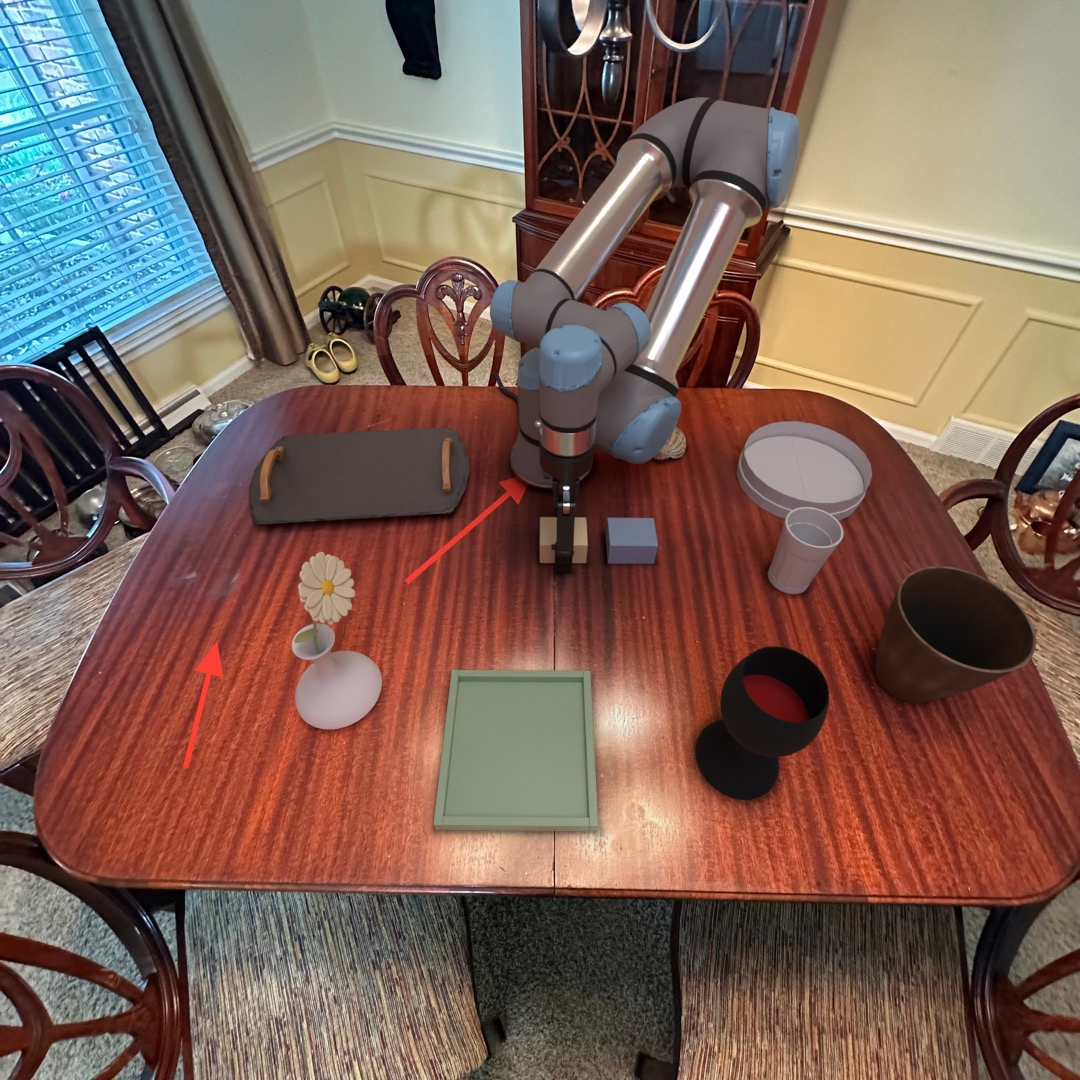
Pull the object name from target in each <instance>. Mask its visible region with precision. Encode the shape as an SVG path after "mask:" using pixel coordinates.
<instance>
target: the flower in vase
mask: <svg viewBox="0 0 1080 1080" xmlns="http://www.w3.org/2000/svg"><path fill="white" fill-rule="evenodd" d="M298 574H299V578H300V580H301V582H299V583H298V586H297V588H298V595H299V600H300V602H301V603H304V606H303V607H304V610H305V611H306V612H307V613H309V616H311V617H310V618H311V619H312V620H313V623H311V624H308V625H306V626H304V627H302V628H300V630H299V631H298V632H296V634H295V635H294V636H293V638H292V641H291V650H292V653H293V654H294V655H295V656H296V657H297V658H299V659H302V660H307V661H311V662H312V663H311V664H310V665H309V666H308V667H307V668H306V669H305V670H304V672H303V673H302V674H301V676H300V678H299V680H298V682H297V685H296V688H295V695H294V703H295V704H294V705H295V707H296V711H297V713H298V715H299V717H301V718H302V720H303V721H304V722H305V723H306V724H307V725H310V726H311V727H314V728H316V729H321V730H339V729H342V728H346V727H349V726H351V725H353V724H355V723H357V722H358V721H360V720H361V719H363V718H364V717H365V716H366V715H368V714H369V713H370V711H371V710H372V709H373V707H374V706H375V705H376V703H377V701H378V700H379V698H380V695H381V692H382V687H383V678H382V674H381V670H380V668H379V667H378V665H377V663H376V662H375V661H374V660H372V659H371V658H370V657H369V656H367V655H365V654H363V653H361V652H358V651H354V650H338V651H333V652H332V650H331V649H332V648H333V646H334V644H335V640H336V634H335V631H334V629H333V628H332V627H331V626H332V625H334V623H339V622H340V620H342V618H343V617H347V616H348V614H349V611H351V610H352V609H353V604H352V598H355V597H356V590H355V589H354V588H353V587H354V585H355V579H353V578H351V576H352V570H351V569H350V568H348V567H347V568H346V566H345V561H344V560H340V558H339V557H338V556H335V555H332V554H330V553H328V554H325V552H324V551H320V552H317V553H316V554H315V556H314V555H311V557H309V561H305V562H304V563H303V564H302V566H301V570H300V571H299V573H298ZM318 621H319V622H318ZM325 623H327V624H325Z"/></svg>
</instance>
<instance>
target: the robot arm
mask: <svg viewBox="0 0 1080 1080" xmlns="http://www.w3.org/2000/svg"><path fill="white" fill-rule="evenodd" d="M801 129H802V128H801V122H800V120H799V118H798V117H797V115H795V114H793V113H792V112H786V111H783V110H778V109H776V108H775V107H772V106H771V107H770V108H765V107H759V106H754V105H750V104H749V105H747V104H743V103H737V102H731V101H725V100H718V99H714V98H711V97H704V96H703V97H692V98H691V97H690V98H687V99H684V100H681V101H678V102H676V103H673V104H671V105H669V106H666V108H664V109H662V110H660V111H659V112H657V113H656V114H654V115H652V117H650V118H649V119H647V120H646V121H645V122H643V123H642V124H641V125H640V126H639V127H637V128H636V130H634V132H633V133H632V134H630V136H629V137H628V138H627V139H626V141H625V142H624V143H623V145H622V146H621V147H620V149H619V151H618V152H617V156H616V164H615V166H614V167H613V169H612V170H611V172H609V174H608V175H607V177H606V178H605V179H604V180H603V182H602V183H601V184H600V185H599V187H598V188H597V189H596V191H595V192H594V193H593V194H592V196H591V197H590V198H589V200H588V201H587V202H586V203H585V205H584V206H583V207H582V209H581V210H580V211H579V212H578V214H577V215H576V216H575V218H574V219H573V220H572V222H571V223H570V225H569V226H568V227H567V228H566V229H565V230H564V232H563V233H562V234H561V235H560V237H559V238H558V239H557V241H556V242H555V244H553V246H552V247H551V249H549V251H548V253H547V254H546V255H545V256H544V258H543V259H542V260H541V262H540V263H539V264H538V266H536V268H535V269H534V270H533V271H532V272H531V274H530V275H529V276H528V277H527V279H526V280H525V281H524V282H522V280H514V279H508V280H506V281H504V282H501V283H500V284H499V285H498V286H497V288H496V289H495V290H494V293H493V295H492V298H491V301H490V306H489V319H490V321H491V324H492V326H493V328H494V330H496V331H497V333H499V334H501V335H504V336H506V337H508V338H510V339H512V340H514V341H516V342H517V343H523V344H526V345H529V346H531V347H534V348H532V349H529V351H527V352H526V353H525V354H524V355H522V357H521V358H520V360H519V362H518V366H517V379H516V386H517V394H516V393H514V392H512V391H510V390H509V389H507V388H506V387H505V386H504V384H503V382H502V379H501V377H500V374H499V373H498V372H496V371H494V372H493V373H492V374H491V376H492V377H493V378H495V382H496V384H497V386H498V387H499V389H500V390H501V391H502V392H503V393H504V394H505V395H506V396H509V397H510V398H512V399H514V401H516V403H517V414H518V426H519V427H518V428H519V430H518V433H517V436H516V439H515V443H514V445H512V449H511V452H510V469H511V471H512V474H513V475H514V477H515V479H517V481H519V482H520V483H521V484H523V486H526V487H528V488H530V489H533V490H536V491H539V492H540V491H541V492H547V493H553V507H554V517H557V536H556V542H555V544H551V550H555V563H554V573H556V574H557V573H561V574H562V573H563V574H564V573H565V574H567V573H568V574H571V573H572V572H573V563H572V558H573V556H574V550H573V548H574V524H575V517H576V509H577V507H578V492H579V490H580V485H581V484H583V483H584V482H585V481H586V480H587V479H588V478H589V476H590V474H591V473H592V470H593V462H594V451H595V449H596V450H599V451H601V452H604V453H606V454H608V455H610V456H611V457H613V458H615V459H617V460H623V461H625V462H628V463H631V464H634V465H643V464H645V463H648V462H649V461H650V460H652V459H653V457H654V456H655V455H656V454H657V453H658V452H659V451H660V450H661V449H662V447H663V446H664V445H665V444H666V442H667V441H668V439H669V438H670V436H671V434H672V433H673V431H674V429H675V427H677V425H678V421H679V419H680V417H681V414H682V409H683V406H682V402H681V400H679V398H678V397H677V396H678V393H679V391H680V386H679V383H678V380H677V378H676V376H677V373H678V371H679V369H680V367H681V365H682V363H683V360H684V359H685V356H686V354H687V352H688V350H689V348H690V345H691V343H692V341H693V339H694V337H695V335H696V333H697V331H698V329H699V326H700V324H701V322H702V321H703V318H704V315H705V313H706V311H707V309H708V308H709V305H710V303H711V302H712V299H713V296H714V294H715V292H716V291H717V288H718V286H719V284H720V282H721V280H722V278H723V276H724V273H725V271H726V269H727V267H728V265H729V263H730V261H731V260H732V257H733V254H734V253H735V250H736V248H737V246H738V244H739V242H740V240H741V238H742V235H743V233H744V232H745V229H748V228H750V227H753V226H756V225H757V224H758V223H759V222H760V221H761V219H762V217H763V216H764V213H765V211H766V209H767V208H768V209H769V210H773V209H778V208H779V207H781V205H782V204H783V203H784V201H785V200H786V197H787V195H788V192H789V190H790V187H791V184H792V181H793V177H794V174H795V171H796V166H797V163H798V162H797V161H798V157H799V152H800V145H801V135H802V133H801V132H802V131H801ZM675 187H677V188H679V187H683V188H687V189H688V197H689V200H690V203H691V205H692V207H691V209H690V211H689V213H688V215H687V217H686V220H685V222H684V224H683V226H682V227H681V231H680V233H679V235H678V237H677V240H676V241H675V244H674V246H673V248H672V251H671V252H670V255H669V258H668V259H667V261H666V263H665V265H664V268H663V270H662V273H661V275H660V276H659V278H658V281H657V283H656V285H655V288H654V289H653V292H652V293H651V297H650V298H649V300H648V303H647V305H646V307H645V308H644V311H643V310H642V309H641V308H639V306H637V305H635V304H633V303H631V302H618V303H615V304H613V305H610V306H608V307H607V308H606V309H601V308H598V307H595V306H592V305H589V304H585V303H583V302H579V301H580V299H581V298H582V297H583V295H584V294H585V293H586V291H587V290H588V288H590V286H591V284H592V283H593V281H594V280H595V279H596V278H597V277H598V275H599V274H600V272H601V271H602V270H603V268H604V267H605V266H606V264H607V263H608V262H609V260H610V259H611V257H612V256H613V255H614V254H615V252H616V251H617V250H618V248H619V247H620V245H621V244H622V243H623V242H624V240H625V239H626V237H627V236H628V235H629V234H630V233H631V231H632V230H633V228H634V227H635V226H636V224H637V223H638V222H639V220H640V219H641V218H642V216H643V215H644V213H646V211H647V209H648V208H649V207H650V205H651V204H652V203H653V202H654V201H658V200H660V199H663V198H664V197H665V196H666V195H667V194H668V192H669V191H670V190H671V189H672V188H675ZM501 387H505V388H501Z"/></svg>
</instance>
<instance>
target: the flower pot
mask: <svg viewBox="0 0 1080 1080" xmlns="http://www.w3.org/2000/svg"><path fill="white" fill-rule="evenodd" d="M1036 647H1037V634H1036V630H1035V627H1034V624H1033V623H1032V620H1031V618H1030V617H1029V615H1028V613H1027V612H1026V611H1025V609H1024V608H1023V607H1022V606H1021V604H1020V603H1019V602H1018V601H1017V600H1016V599H1015V598H1014V597H1013V596H1011V594H1009V593H1008V592H1007V591H1006V590H1004V589H1003V588H1002V587H1001V586H999V585H997V584H996V583H994V582H992V581H991V580H990V579H987V578H985V577H983V576H981V575H979V574H976V573H974V572H971V571H968V570H965V569H961V568H958V567H952V566H944V565H942V566H941V565H935V566H925V567H921V568H919V569H916V570H914V571H912V572H910V573H909V574H907V576H905V577H904V579H902V581H901V583H900V585H899V587H898V589H897V591H896V593H895V595H894V597H893V599H892V601H891V603H890V606H889V608H888V611H887V613H886V616H885V619H884V621H883V625H882V628H881V632H880V635H879V639H878V644H877V650H876V658H875V676H876V678H877V681H878V683H879V684H880V686H881V687H882V689H884V690H885V691H886V692H887V694H889V695H891V696H892V697H894V698H895V699H897V700H899V701H902V702H904V703H905V702H906V703H909V704H920V703H927V702H932V701H938V700H943V699H946V698H947V699H948V698H951V697H954V696H957V695H960V694H964V693H966V692H970V691H972V690H975V689H979V688H980V687H983V686H985V685H988V684H990V683H992V682H994V681H997V680H999V679H1001V678H1003V677H1005V676H1007V675H1008V674H1011V673H1013V672H1014V671H1016V670H1019V669H1021V668H1022V667H1023V666H1025V665H1026V664H1027V663H1028V662H1030V660H1032V658H1033V656H1034V655H1035V652H1036Z"/></svg>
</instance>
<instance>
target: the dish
mask: <svg viewBox="0 0 1080 1080" xmlns="http://www.w3.org/2000/svg"><path fill="white" fill-rule="evenodd" d="M872 477H873V470H872V464H871V462H870V460H869V459H868V457H867V455H866V453H865V452H864V451H863V450H862V449H861V448H860V447H859V446H858V445H857V444H856V443H855V442H853V441H852V440H850V439H849V438H848V437H847V436H845V435H843V434H841V433H840V432H837V431H835V430H833V429H831V428H830V427H829V428H828V427H825V426H822V425H818V424H815V423H810V422H804V421H797V420H796V421H795V420H793V421H791V420H790V421H788V420H787V421H777V422H772V423H768V424H766V425H763V426H761V427H759V428H757V429H755V431H753V432H752V433H751V434H750V435H749V436H748V438H747V440H746V442H745V444H744V447H743V449H742V451H741V453H740V455H739V459H738V461H737V464H736V478H737V481H738V484H739V486H740V488H741V489H742V491H743V492H744V493H745V495H746V496H747V498H748V499H749V500H751V501H752V502H753V503H754V504H755V505H756V506H758V507H759V508H761V509H762V510H764V511H766V512H767V513H769V514H771V515H772V516H776V517H777V518H781V519H783V520H785V519H786V517H787V515H788V513H789V512H791V511H792V510H794V509H796V508H800V507H813V508H817V509H821V510H823V511H825V512H827V513H829V514H831V515H832V516H833V517H835V518H836V519H837V520H838V521H839V522H840V521H843V520H844V519H846V518H848V517H849V516H852V515H853V513H854V512H856V510H857V509H858V507H860V505H861V503H862V501H863V499H864V498H865V496H866V492H867V490H868V488H869V486H870V484H871V482H872Z"/></svg>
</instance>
